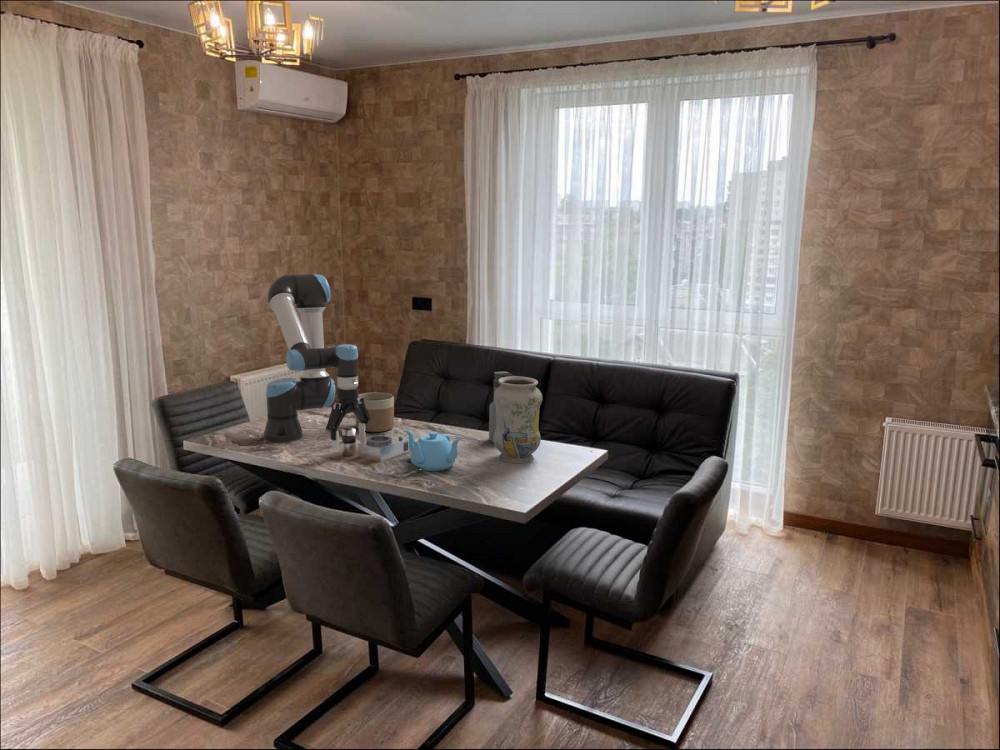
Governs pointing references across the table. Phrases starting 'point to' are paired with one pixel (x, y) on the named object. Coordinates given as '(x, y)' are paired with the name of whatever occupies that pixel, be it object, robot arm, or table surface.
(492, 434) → the water bottle
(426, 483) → the table surface
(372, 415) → the planter
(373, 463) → the board
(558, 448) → the table surface
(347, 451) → the lens
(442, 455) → the teapot
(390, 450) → the camera body
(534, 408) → the vase
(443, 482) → the table surface
